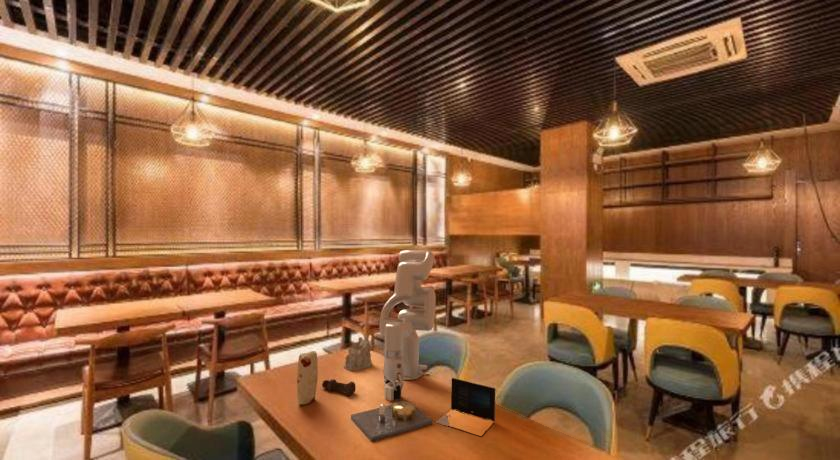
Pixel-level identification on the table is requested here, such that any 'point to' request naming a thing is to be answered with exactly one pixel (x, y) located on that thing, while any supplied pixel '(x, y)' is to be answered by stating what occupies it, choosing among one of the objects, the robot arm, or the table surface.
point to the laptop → (471, 400)
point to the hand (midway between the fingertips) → (392, 395)
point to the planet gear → (389, 391)
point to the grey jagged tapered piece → (359, 355)
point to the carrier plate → (387, 422)
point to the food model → (307, 377)
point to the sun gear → (403, 410)
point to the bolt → (339, 386)
